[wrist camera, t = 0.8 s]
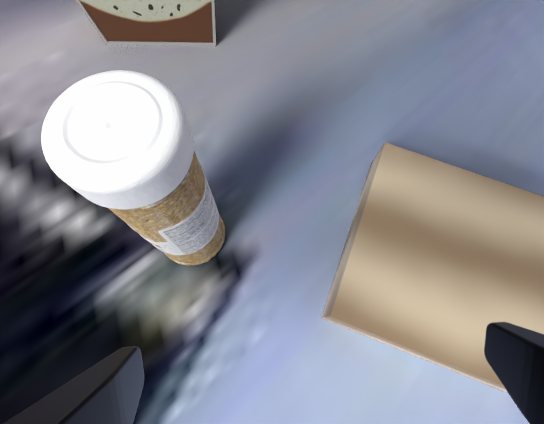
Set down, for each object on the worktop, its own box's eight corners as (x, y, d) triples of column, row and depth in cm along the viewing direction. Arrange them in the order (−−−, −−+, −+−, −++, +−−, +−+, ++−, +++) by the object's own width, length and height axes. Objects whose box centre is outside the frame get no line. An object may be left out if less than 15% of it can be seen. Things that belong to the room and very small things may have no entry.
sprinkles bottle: (148, 228, 23) (9, 109, 11) (203, 192, 24) (136, 42, 12) (184, 281, 22) (77, 218, 9) (240, 240, 23) (211, 134, 10)
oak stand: (507, 393, 20) (547, 403, 18) (321, 317, 22) (330, 316, 19) (531, 218, 24) (566, 204, 21) (371, 163, 25) (385, 142, 22)
